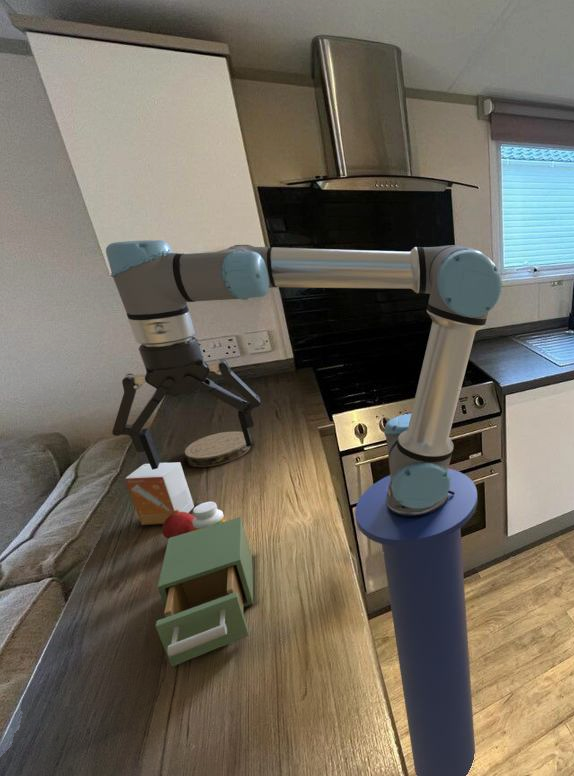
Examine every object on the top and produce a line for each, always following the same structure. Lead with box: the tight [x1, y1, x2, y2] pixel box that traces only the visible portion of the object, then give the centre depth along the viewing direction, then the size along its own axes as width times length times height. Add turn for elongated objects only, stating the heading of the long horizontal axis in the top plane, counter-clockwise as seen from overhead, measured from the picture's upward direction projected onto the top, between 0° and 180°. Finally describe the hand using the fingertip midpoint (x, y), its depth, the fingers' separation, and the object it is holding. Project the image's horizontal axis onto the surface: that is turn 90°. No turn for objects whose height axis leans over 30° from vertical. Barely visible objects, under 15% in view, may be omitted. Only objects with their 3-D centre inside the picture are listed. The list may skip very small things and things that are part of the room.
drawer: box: [155, 565, 249, 667], centre depth 74 cm, size 18×10×9 cm, turn 32°
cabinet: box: [157, 516, 254, 608], centre depth 82 cm, size 14×12×11 cm
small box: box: [124, 461, 195, 526], centre depth 103 cm, size 8×6×13 cm
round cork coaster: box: [184, 430, 252, 468], centre depth 132 cm, size 16×16×3 cm
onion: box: [161, 509, 195, 540], centre depth 96 cm, size 6×6×8 cm
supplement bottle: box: [192, 501, 226, 530], centre depth 95 cm, size 5×5×10 cm
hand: (204, 453), depth 78 cm, fingers open, 13 cm apart
